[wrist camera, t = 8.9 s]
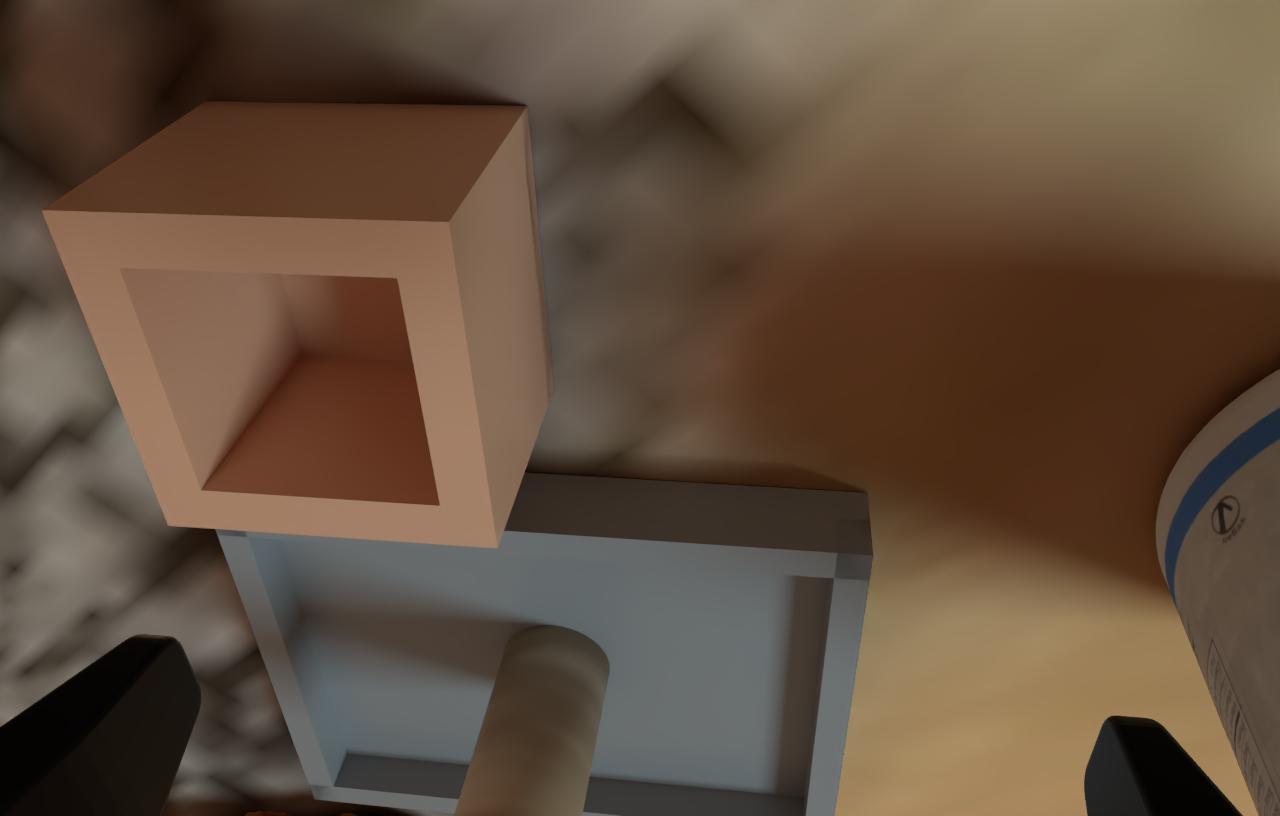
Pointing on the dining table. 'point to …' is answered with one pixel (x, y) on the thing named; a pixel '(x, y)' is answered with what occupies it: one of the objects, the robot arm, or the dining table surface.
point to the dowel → (538, 727)
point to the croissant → (282, 814)
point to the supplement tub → (1233, 574)
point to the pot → (322, 315)
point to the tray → (597, 607)
